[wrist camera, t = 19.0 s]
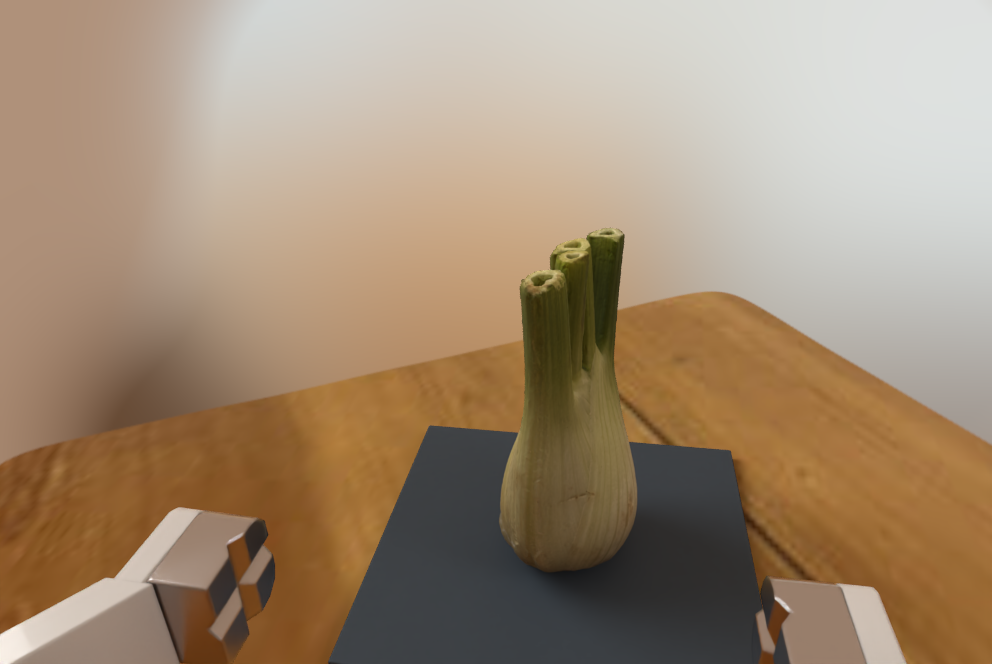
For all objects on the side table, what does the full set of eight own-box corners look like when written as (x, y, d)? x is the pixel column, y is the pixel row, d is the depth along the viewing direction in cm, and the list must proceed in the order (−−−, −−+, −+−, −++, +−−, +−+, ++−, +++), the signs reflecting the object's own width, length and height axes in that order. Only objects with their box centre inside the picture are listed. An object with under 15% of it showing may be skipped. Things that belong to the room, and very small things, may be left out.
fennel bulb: (588, 478, 30) (602, 208, 24) (669, 550, 26) (708, 251, 21) (471, 531, 27) (455, 242, 22) (543, 619, 24) (546, 298, 18)
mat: (329, 669, 23) (327, 661, 22) (429, 431, 34) (429, 424, 34) (784, 735, 20) (786, 726, 20) (729, 457, 32) (730, 450, 31)
